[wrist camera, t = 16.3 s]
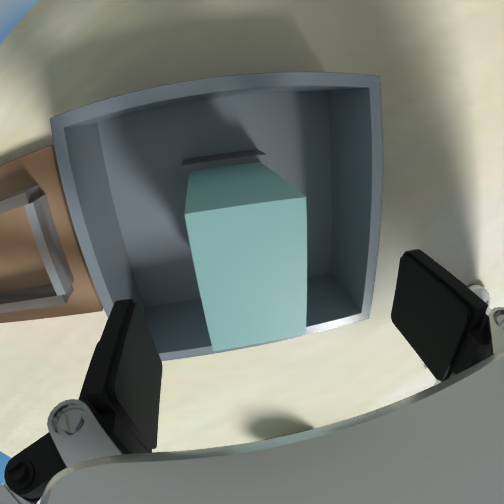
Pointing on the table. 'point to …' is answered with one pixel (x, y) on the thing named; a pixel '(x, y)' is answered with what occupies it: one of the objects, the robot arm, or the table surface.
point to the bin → (218, 142)
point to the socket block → (40, 244)
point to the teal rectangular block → (246, 248)
